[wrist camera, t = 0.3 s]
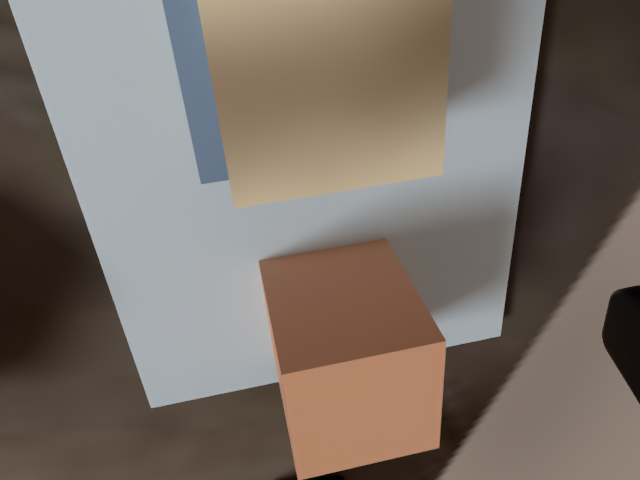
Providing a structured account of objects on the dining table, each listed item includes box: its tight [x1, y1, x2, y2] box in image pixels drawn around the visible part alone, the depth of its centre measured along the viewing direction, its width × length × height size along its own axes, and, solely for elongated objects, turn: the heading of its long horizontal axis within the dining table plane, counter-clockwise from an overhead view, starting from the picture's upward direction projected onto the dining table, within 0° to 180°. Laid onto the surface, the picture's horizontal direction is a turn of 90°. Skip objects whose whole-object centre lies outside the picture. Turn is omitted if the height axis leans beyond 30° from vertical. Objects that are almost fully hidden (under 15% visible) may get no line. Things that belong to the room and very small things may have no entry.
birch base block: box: [197, 0, 452, 209], centre depth 15 cm, size 6×6×4 cm
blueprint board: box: [8, 0, 546, 408], centre depth 20 cm, size 18×16×1 cm
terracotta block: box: [259, 238, 446, 480], centre depth 20 cm, size 5×5×6 cm
